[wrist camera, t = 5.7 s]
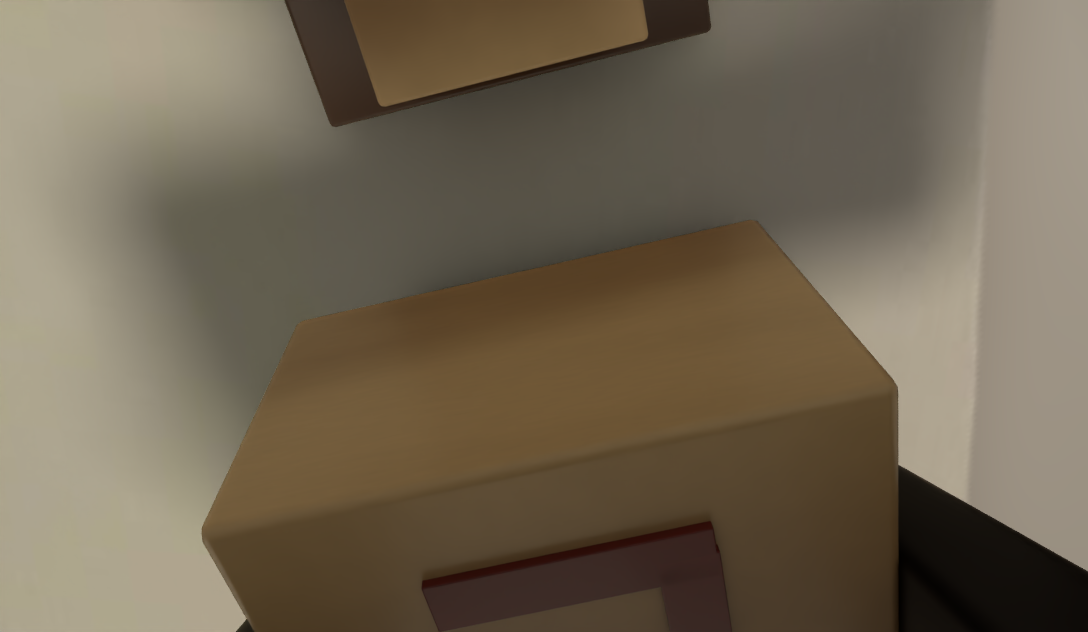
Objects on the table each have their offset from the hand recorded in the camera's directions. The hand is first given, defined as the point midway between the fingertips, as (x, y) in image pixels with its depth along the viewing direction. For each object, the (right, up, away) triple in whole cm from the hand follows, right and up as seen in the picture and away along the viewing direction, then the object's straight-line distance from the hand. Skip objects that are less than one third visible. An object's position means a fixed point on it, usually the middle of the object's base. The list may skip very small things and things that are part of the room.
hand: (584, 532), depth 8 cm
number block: (0, +1, +1) cm, 1 cm away
